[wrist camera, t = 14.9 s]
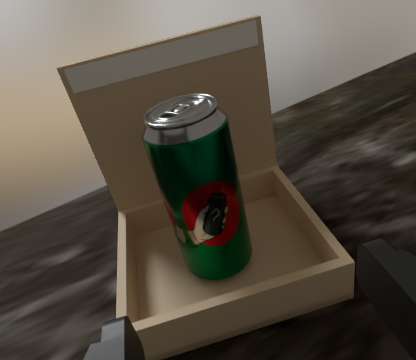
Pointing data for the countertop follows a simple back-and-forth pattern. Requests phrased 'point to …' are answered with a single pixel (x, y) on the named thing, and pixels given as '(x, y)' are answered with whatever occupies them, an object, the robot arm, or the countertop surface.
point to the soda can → (199, 183)
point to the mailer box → (249, 180)
